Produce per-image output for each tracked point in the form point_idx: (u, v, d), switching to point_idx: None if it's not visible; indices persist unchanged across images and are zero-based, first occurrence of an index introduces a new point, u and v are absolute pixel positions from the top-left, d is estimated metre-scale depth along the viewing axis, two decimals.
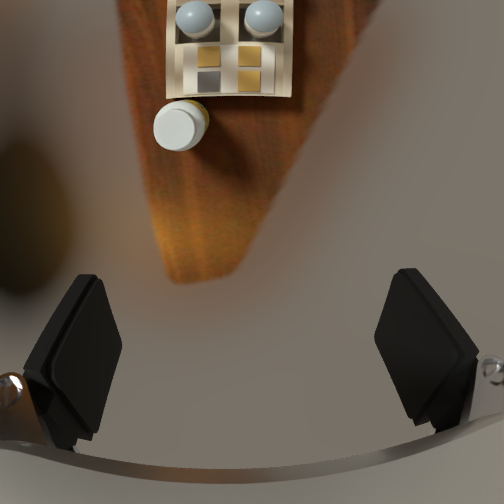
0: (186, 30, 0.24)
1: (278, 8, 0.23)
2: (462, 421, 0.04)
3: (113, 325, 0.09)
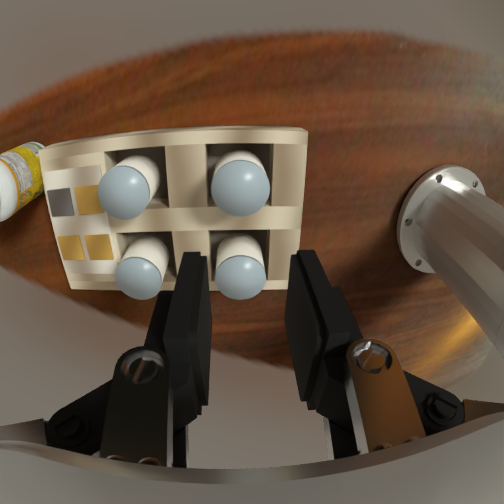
0: (99, 185, 0.19)
1: (151, 294, 0.23)
2: (356, 426, 0.05)
3: (209, 302, 0.10)
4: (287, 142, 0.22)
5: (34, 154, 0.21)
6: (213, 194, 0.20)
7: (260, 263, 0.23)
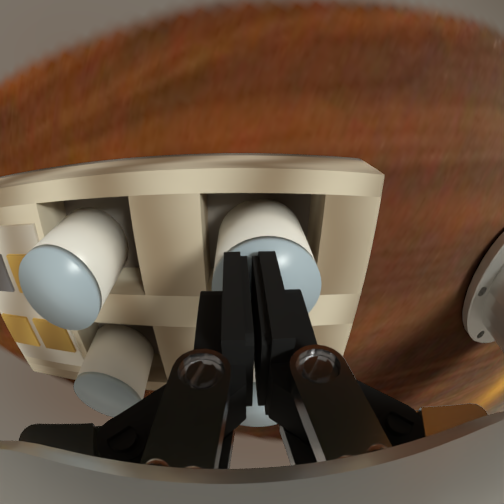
0: (20, 276, 0.09)
1: None
2: (312, 441, 0.05)
3: None
4: (349, 192, 0.12)
5: None
6: None
7: None
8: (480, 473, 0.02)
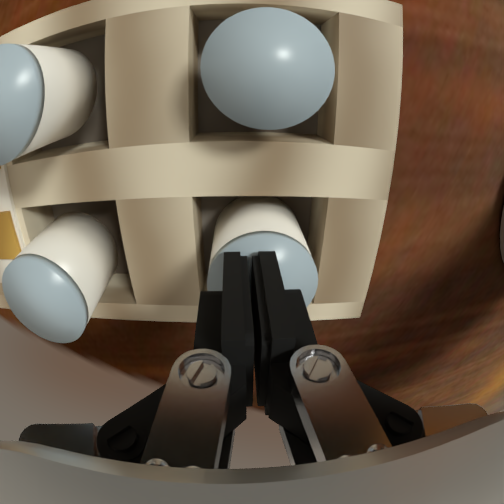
0: None
1: (72, 335, 0.10)
2: (312, 441, 0.05)
3: None
4: (366, 14, 0.08)
5: None
6: (205, 76, 0.07)
7: (307, 251, 0.10)
8: (480, 473, 0.02)
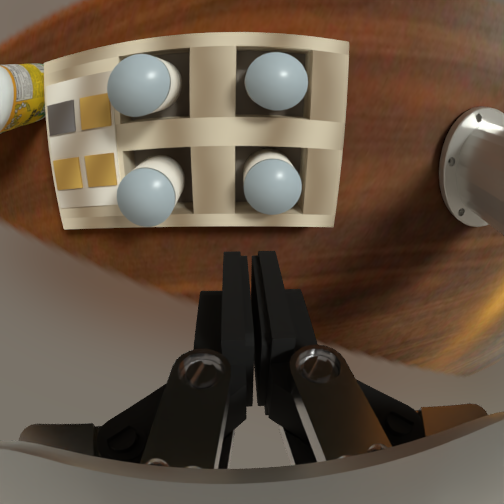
0: (111, 77, 0.14)
1: (161, 219, 0.19)
2: (312, 441, 0.05)
3: None
4: (327, 50, 0.17)
5: (39, 70, 0.16)
6: (247, 84, 0.16)
7: (295, 170, 0.20)
8: (480, 473, 0.02)
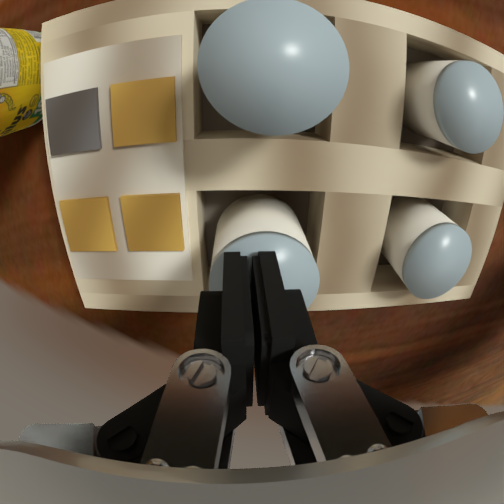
0: (209, 36, 0.06)
1: None
2: (312, 441, 0.05)
3: None
4: None
5: (33, 37, 0.08)
6: (441, 104, 0.08)
7: None
8: (480, 473, 0.02)
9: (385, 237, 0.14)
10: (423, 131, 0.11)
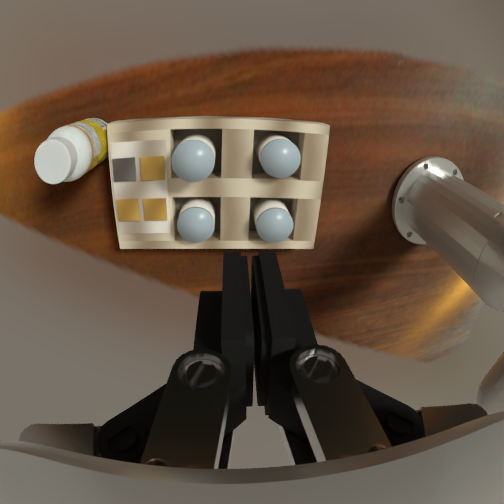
0: (174, 153, 0.25)
1: (205, 238, 0.31)
2: (312, 441, 0.05)
3: None
4: (314, 132, 0.28)
5: (101, 127, 0.26)
6: (262, 161, 0.28)
7: (289, 214, 0.31)
8: (480, 473, 0.02)
9: (254, 215, 0.33)
10: None
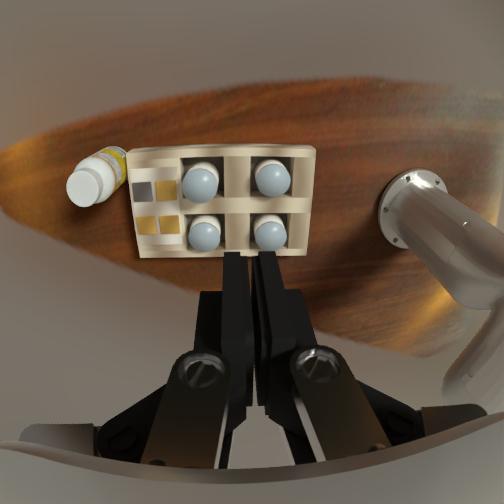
0: (184, 180, 0.31)
1: (212, 248, 0.37)
2: (312, 441, 0.05)
3: None
4: (302, 156, 0.34)
5: (120, 156, 0.33)
6: (257, 183, 0.34)
7: (283, 227, 0.37)
8: (480, 473, 0.02)
9: (254, 228, 0.39)
10: None
